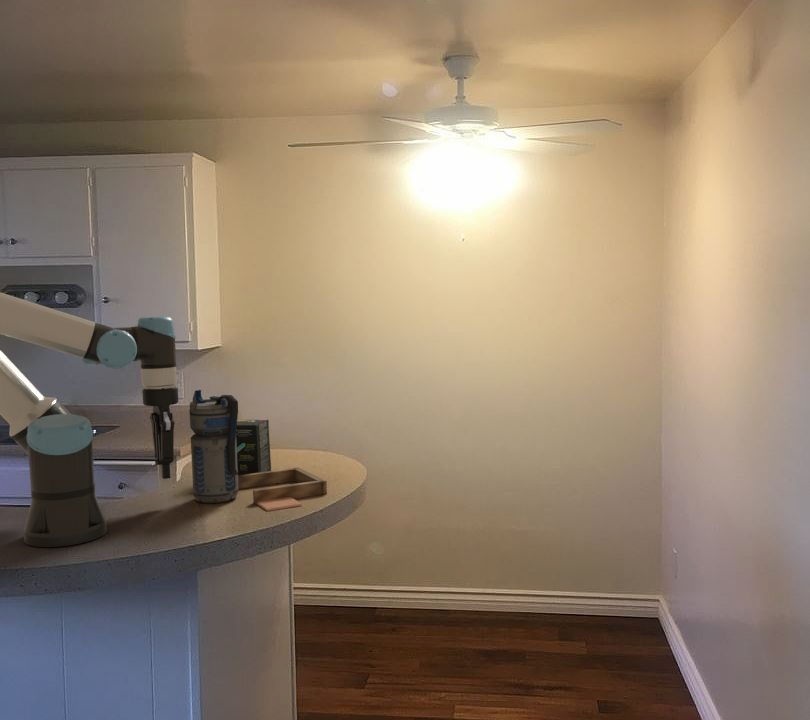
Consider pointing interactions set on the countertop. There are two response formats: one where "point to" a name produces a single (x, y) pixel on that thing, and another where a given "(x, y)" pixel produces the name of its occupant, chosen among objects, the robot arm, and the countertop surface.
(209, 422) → the beverage bottle
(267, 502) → the tile
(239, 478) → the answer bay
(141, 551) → the countertop surface
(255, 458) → the tampon box
